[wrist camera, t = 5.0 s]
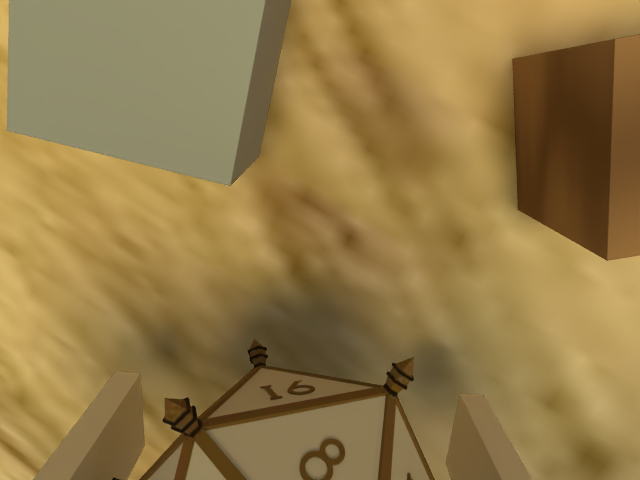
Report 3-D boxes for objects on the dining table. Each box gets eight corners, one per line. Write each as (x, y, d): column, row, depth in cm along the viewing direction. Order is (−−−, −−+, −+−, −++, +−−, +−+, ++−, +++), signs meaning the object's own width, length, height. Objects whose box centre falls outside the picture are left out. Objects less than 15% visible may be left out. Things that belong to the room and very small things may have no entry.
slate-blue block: (259, 156, 15) (230, 186, 10) (111, 118, 14) (6, 130, 9) (292, -5, 13) (277, -61, 8) (127, -52, 13) (12, -140, 8)
